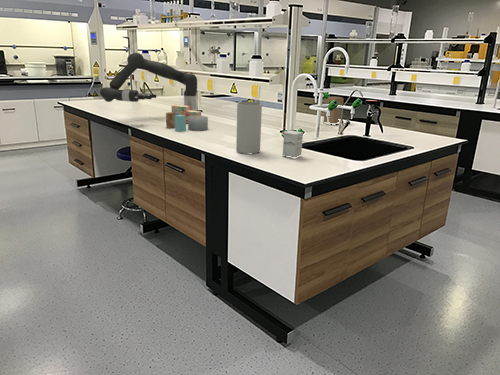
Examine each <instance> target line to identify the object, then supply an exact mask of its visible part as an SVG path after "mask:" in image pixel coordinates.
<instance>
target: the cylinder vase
mask: <svg viewBox="0 0 500 375" xmlns="http://www.w3.org/2000/svg"><path fill="white" fill-rule="evenodd" d="M262 106H263V103H261V102H254V101H241V102H237V103H236V140H235V141H236V142H235V143H236V144H235V145H236V153H239V154H242V153H256V154H258V153H257V152H259V151H261V139H262V138H261V135H262V111H263V109H262V108H263V107H262ZM259 153H260V152H259Z"/></svg>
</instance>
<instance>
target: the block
mask: <svg viewBox="0 0 500 375" xmlns="http://www.w3.org/2000/svg"><path fill="white" fill-rule="evenodd" d="M328 97H329V98H328V99H326V98H325V99H324V100H325V103H324V105H325V104H328V103H329V102H330V101H332V100H335V101H337V102H338V105H342V106H343V107H344V100H345V99H344V97H341V96H328ZM323 113H324V114H323V123H324V122H327V117H326V112H324V111H323ZM340 118H341V109H339V108H336V109H334V110H333V111H331V112H330V118H329V122H330V123H337V122H339V120H338V119H340Z"/></svg>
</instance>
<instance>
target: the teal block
mask: <svg viewBox="0 0 500 375" xmlns="http://www.w3.org/2000/svg"><path fill="white" fill-rule="evenodd" d="M174 131H175V132H179V133H182V132H187V124H186V116H185V115H175V128H174Z"/></svg>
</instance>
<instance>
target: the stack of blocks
mask: <svg viewBox="0 0 500 375" xmlns="http://www.w3.org/2000/svg"><path fill="white" fill-rule="evenodd" d="M170 109H171V112H176V115H185V116H186V125H188V117H189V116H202V111H201V110H196V111H193V110H190V106H184V104H183V105H181V104H174V105H171V107H170Z"/></svg>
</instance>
